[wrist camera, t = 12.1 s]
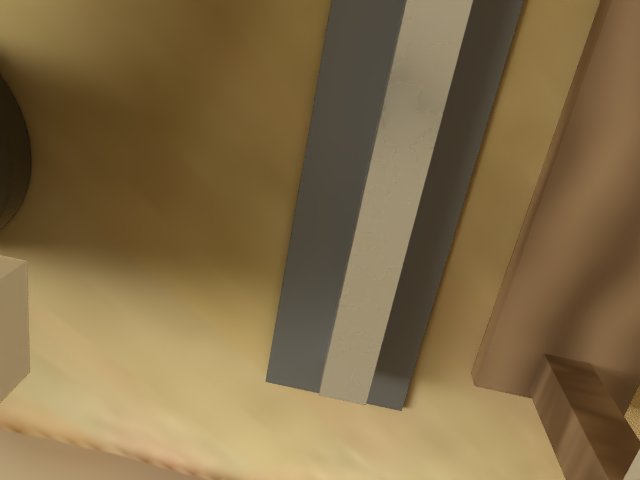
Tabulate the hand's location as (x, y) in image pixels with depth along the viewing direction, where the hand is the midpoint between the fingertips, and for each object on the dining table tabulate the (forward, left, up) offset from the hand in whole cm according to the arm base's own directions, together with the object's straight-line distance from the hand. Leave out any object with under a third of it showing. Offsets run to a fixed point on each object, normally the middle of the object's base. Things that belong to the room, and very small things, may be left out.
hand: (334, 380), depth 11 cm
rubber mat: (+2, -1, -23) cm, 23 cm away
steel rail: (+2, -1, -23) cm, 23 cm away
